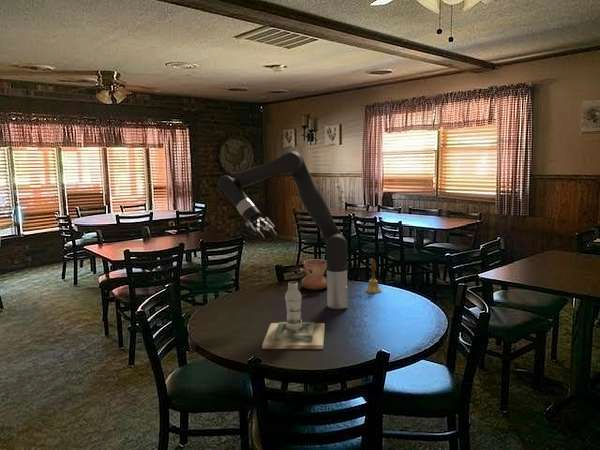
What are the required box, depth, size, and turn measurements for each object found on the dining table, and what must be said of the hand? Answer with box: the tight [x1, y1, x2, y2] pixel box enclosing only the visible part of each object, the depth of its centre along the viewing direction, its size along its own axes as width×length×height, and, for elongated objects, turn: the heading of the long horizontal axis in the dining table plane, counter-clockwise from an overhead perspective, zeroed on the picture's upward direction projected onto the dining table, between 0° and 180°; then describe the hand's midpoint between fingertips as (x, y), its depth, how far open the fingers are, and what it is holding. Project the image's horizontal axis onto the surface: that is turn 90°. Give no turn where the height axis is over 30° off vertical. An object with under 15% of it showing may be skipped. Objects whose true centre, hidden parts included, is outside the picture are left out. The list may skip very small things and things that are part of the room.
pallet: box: [261, 321, 326, 350], centre depth 182 cm, size 22×22×4 cm
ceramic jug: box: [299, 258, 327, 291], centre depth 247 cm, size 18×14×14 cm
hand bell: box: [364, 259, 383, 294], centre depth 238 cm, size 8×8×16 cm
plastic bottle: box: [284, 281, 303, 333], centre depth 181 cm, size 6×7×20 cm
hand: (269, 238), depth 206 cm, fingers open, 8 cm apart
